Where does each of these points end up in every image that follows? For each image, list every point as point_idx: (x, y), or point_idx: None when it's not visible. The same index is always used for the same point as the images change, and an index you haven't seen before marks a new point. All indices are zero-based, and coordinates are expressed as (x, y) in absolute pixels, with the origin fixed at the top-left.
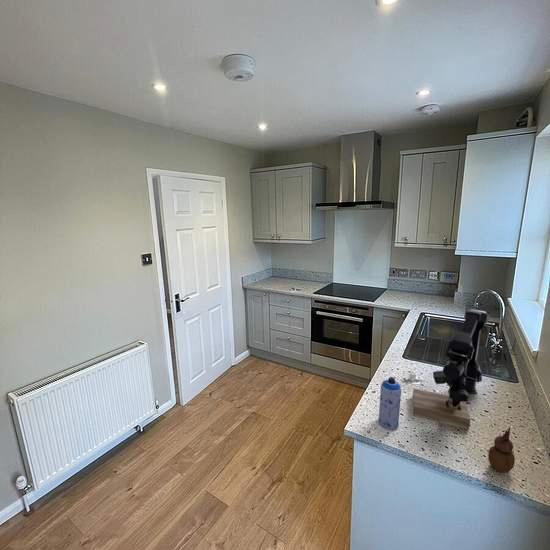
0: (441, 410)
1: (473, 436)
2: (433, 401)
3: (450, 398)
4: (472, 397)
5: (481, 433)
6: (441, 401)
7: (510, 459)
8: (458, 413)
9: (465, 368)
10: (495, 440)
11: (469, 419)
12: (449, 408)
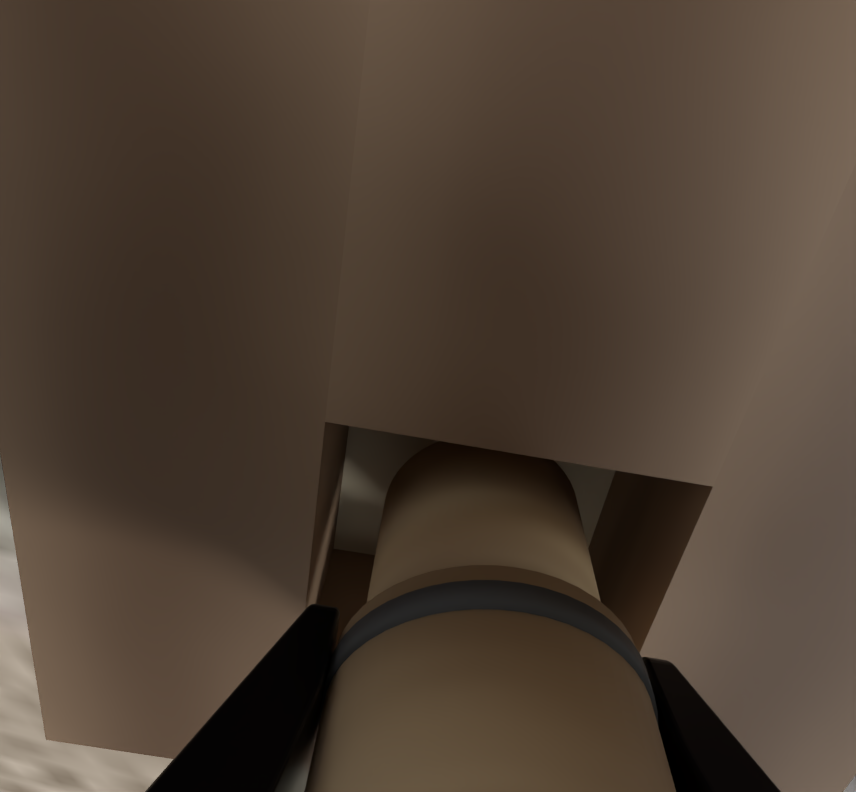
0: (84, 219)
1: (3, 570)
2: (594, 53)
3: (389, 746)
4: None
5: None
6: (637, 356)
7: None
8: (152, 607)
9: None
10: None
11: (48, 720)
12: (303, 477)
